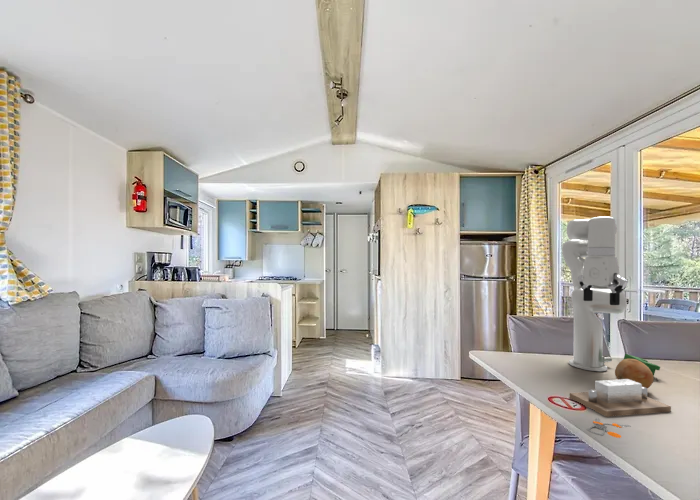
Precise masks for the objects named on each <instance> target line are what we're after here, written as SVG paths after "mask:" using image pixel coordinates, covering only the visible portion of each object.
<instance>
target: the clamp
mask: <svg viewBox="0 0 700 500" xmlns="http://www.w3.org/2000/svg"><path fill="white" fill-rule="evenodd" d="M624 359H635V360H638V361H640V362H642V363H644V364H645V365H646V366H647V367H648V368H649V369H650V370H651V372H652V374H653V377H655V372H656V371H660V370H661V366H659V365H658V364H654V363H652V362H648V360H646V359H645V358H641V357H638V356H635V355H632V354H628V353H624V357H623V359H622V360H624Z"/></svg>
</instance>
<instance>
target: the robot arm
mask: <svg viewBox="0 0 700 500" xmlns="http://www.w3.org/2000/svg"><path fill="white" fill-rule="evenodd" d="M617 230H618V228H617V224H616V220H615V218H614V217H611V216H597V217H596V216H595V217H591V218H584V219H571V220H569V221H568V224H567V226H566V235H567V237H568V239H569V240H566V241H565V242H564V243H563V244H562V247H561V248H562V249H561V250H562V257H563V261H564V262H565V265H566V266H567V267H568V268H569V270H570V274H571V275H570V276H571V281H572V285H573V288H574V290H572V292H571V296H570V297H571V305H572V312H573V314H572V315H573V349H572V350H573V355H572V356H573V358H570V359H569V360H568V364H569V365H570V366H572V367H575V368H577V369H581V370H585V371H593V372H606V371H608V366H607V365H606V364H605V363H612V360H613V359H612V357H611V356H603V350H604V349H603V348H604V347H603V345H604V343H603V342H604V341H603V339H604V338H603V337H604V336H603V332H604V331H603V329H604V328H603V323H602V321H601V320H600V318H599V317H598V316H597V314H595V313H603V314H604V313H605V314H615V315H616V314H617V315H618V314H622V313H624V312H625V311H626V309H627V306H628V305H627V303H628V302H627V298H626V295H625V292H624V290H625V289H626V286H627V285H628V283H629V281H628V279H626V278H624V277H623V276H621V275H620V267H619V262H618V259H617V257H616V234H617Z"/></svg>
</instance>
